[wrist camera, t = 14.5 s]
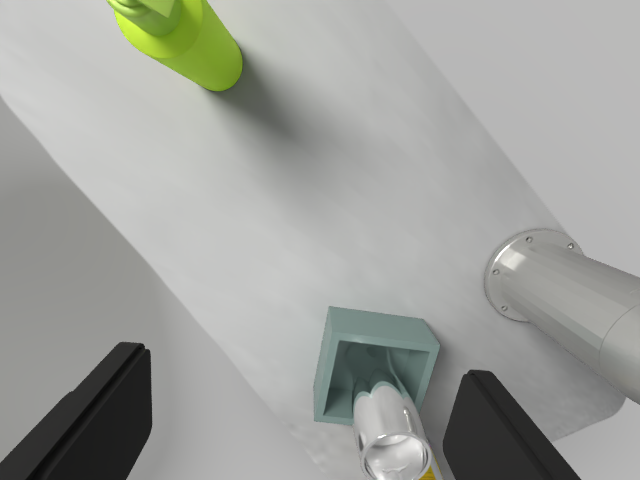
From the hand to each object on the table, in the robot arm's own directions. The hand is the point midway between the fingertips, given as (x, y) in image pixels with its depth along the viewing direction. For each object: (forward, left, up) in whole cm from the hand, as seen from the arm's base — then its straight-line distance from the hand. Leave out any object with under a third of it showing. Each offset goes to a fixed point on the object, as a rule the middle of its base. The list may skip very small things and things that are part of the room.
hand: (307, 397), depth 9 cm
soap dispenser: (+12, -14, -30) cm, 36 cm away
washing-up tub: (-11, +19, -30) cm, 37 cm away
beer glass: (-11, +19, -29) cm, 37 cm away
